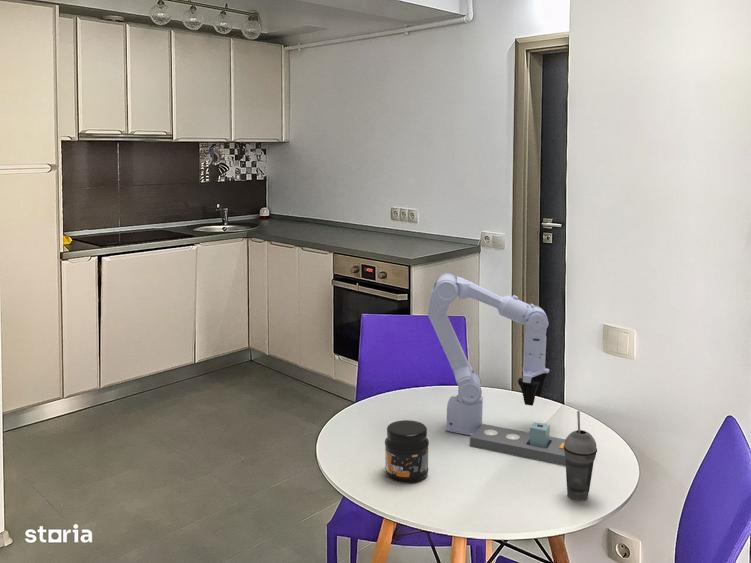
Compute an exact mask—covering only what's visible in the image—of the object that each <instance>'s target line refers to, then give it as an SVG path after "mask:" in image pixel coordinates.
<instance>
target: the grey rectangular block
mask: <svg viewBox="0 0 751 563" xmlns="http://www.w3.org/2000/svg"><path fill="white" fill-rule="evenodd" d="M550 428H551V424H548V423H547V424H546V423H541V422H536V421H535V422H533V424H531V426H530V428H529V430H530V431H529V433H530V445H531V446H536V447H542V448H548V446H549V436H550V432H551V431H550Z"/></svg>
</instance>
